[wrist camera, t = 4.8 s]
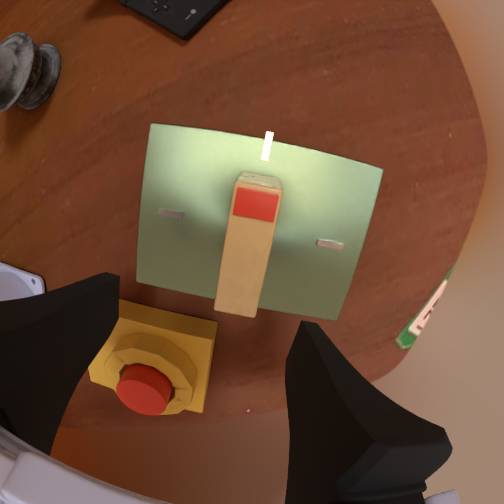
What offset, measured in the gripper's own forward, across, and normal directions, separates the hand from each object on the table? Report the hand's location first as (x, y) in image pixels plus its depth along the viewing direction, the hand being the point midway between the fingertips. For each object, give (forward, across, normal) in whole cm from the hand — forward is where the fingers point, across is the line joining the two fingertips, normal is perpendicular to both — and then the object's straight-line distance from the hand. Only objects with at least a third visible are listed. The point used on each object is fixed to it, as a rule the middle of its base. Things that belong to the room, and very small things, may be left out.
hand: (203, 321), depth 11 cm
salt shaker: (+8, +17, -10) cm, 22 cm away
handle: (+5, -1, -2) cm, 6 cm away
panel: (+8, -1, -2) cm, 9 cm away
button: (+5, +4, +10) cm, 11 cm away
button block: (+8, +4, +10) cm, 14 cm away
